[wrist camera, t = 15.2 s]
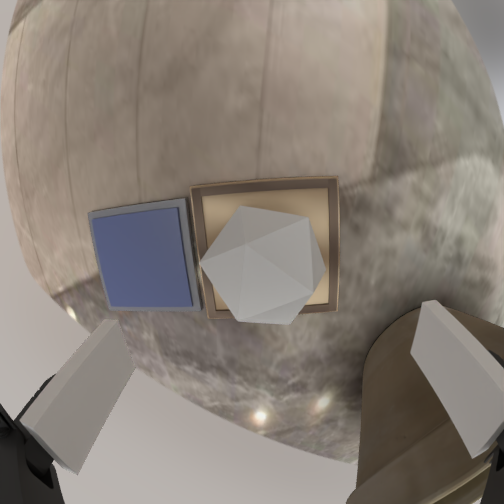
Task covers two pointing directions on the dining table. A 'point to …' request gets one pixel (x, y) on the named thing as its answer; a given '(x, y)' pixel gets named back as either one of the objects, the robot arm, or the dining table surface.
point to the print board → (281, 200)
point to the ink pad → (147, 256)
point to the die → (265, 265)
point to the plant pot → (415, 425)
